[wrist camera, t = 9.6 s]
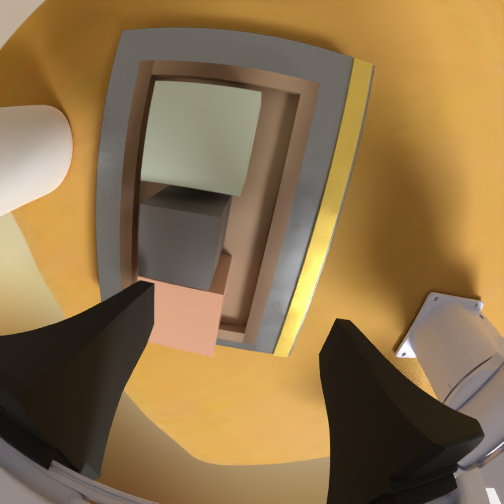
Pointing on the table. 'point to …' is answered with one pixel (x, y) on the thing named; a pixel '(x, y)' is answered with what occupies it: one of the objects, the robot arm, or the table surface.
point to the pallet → (256, 191)
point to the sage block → (200, 136)
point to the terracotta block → (189, 312)
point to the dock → (311, 175)
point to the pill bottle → (32, 153)
